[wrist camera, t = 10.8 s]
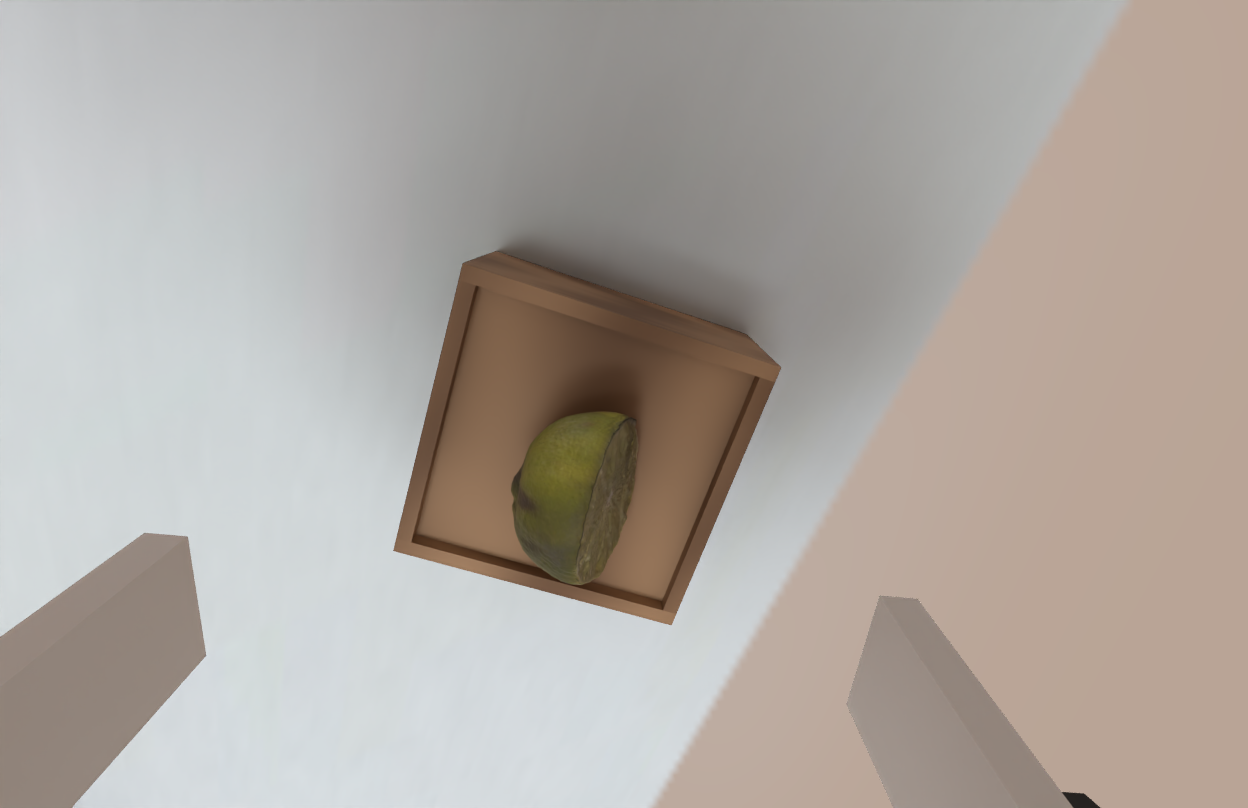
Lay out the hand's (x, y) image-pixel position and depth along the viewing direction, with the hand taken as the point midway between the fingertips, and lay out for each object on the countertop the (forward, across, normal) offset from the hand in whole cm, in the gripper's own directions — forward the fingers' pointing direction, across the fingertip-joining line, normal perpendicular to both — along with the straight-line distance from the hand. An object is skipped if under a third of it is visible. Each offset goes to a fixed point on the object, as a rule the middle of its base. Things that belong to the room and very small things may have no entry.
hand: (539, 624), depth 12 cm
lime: (+9, +1, 0) cm, 9 cm away
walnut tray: (+14, 0, 0) cm, 14 cm away
